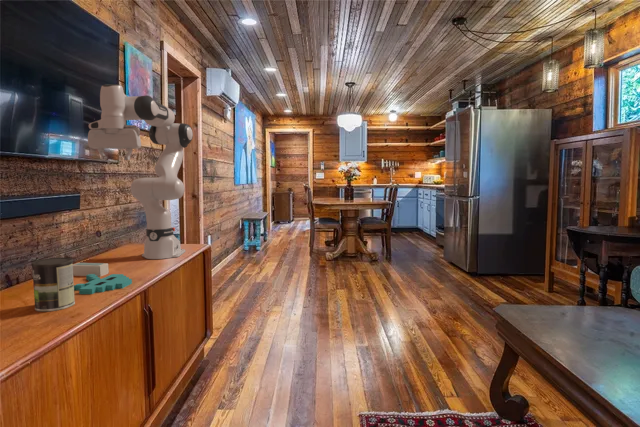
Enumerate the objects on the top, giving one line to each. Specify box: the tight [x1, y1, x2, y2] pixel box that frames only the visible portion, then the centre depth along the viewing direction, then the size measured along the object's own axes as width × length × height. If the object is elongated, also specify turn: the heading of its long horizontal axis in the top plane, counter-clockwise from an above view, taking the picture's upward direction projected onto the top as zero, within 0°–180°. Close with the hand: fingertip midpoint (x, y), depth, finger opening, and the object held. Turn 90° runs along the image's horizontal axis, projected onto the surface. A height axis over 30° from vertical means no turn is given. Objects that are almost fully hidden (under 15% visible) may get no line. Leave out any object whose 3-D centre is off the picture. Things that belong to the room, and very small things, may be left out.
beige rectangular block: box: [72, 262, 109, 277], centre depth 155 cm, size 13×5×5 cm, turn 84°
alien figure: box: [74, 273, 133, 295], centre depth 139 cm, size 20×2×20 cm
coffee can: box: [30, 256, 76, 312], centre depth 117 cm, size 10×10×14 cm
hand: (115, 160), depth 155 cm, fingers open, 8 cm apart
